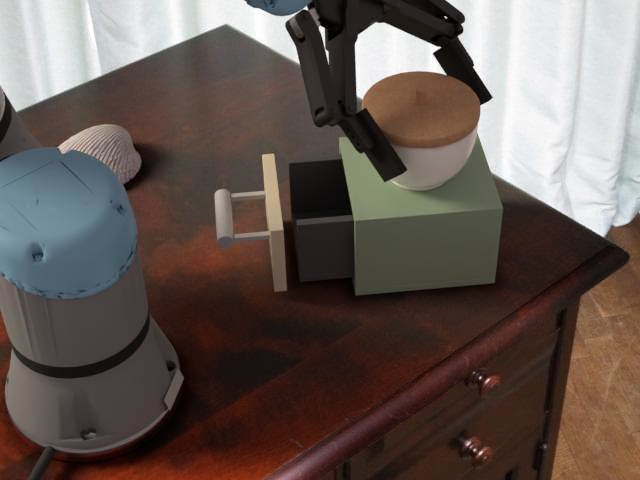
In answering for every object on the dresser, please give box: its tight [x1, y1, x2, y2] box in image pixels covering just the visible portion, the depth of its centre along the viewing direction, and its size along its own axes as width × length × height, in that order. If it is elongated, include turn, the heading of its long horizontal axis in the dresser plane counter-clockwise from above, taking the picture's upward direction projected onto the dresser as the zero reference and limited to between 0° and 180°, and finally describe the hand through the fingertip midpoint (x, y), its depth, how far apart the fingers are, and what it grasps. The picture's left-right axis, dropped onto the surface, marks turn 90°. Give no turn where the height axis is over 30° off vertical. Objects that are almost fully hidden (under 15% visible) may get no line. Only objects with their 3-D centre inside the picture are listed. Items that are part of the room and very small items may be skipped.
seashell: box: [57, 123, 142, 185], centre depth 125 cm, size 10×6×10 cm
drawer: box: [213, 153, 354, 293], centre depth 111 cm, size 18×11×8 cm, turn 96°
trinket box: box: [361, 70, 482, 191], centre depth 106 cm, size 11×11×9 cm
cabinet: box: [338, 132, 504, 296], centre depth 112 cm, size 14×13×10 cm
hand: (440, 139), depth 104 cm, fingers open, 13 cm apart
